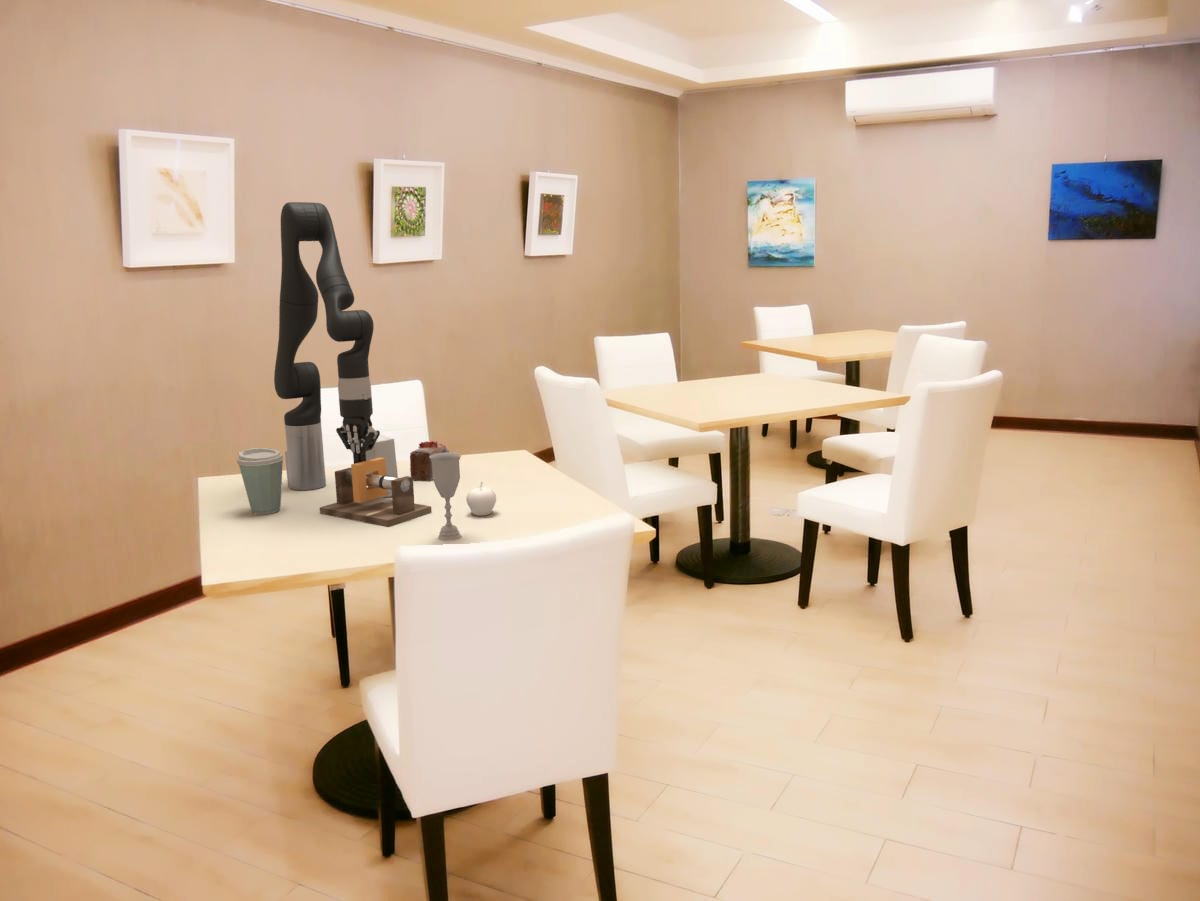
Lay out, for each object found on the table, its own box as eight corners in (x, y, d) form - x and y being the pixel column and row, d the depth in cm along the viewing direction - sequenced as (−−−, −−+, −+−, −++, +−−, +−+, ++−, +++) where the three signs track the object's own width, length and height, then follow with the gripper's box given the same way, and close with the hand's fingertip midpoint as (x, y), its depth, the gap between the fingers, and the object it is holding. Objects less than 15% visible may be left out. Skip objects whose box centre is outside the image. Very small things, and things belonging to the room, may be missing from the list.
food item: (425, 470, 276) (423, 436, 274) (452, 470, 275) (450, 436, 273) (408, 481, 263) (406, 445, 261) (436, 481, 261) (434, 446, 259)
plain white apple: (473, 519, 223) (471, 486, 222) (463, 512, 230) (461, 480, 228) (501, 515, 226) (500, 482, 225) (490, 508, 233) (489, 476, 231)
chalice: (435, 532, 213) (430, 453, 210) (466, 531, 214) (462, 452, 210) (432, 542, 206) (427, 460, 203) (464, 541, 207) (460, 459, 203)
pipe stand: (320, 513, 231) (317, 474, 229) (363, 500, 243) (361, 463, 241) (388, 526, 219) (386, 486, 217) (431, 512, 230) (429, 473, 228)
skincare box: (400, 495, 247) (396, 438, 244) (377, 499, 244) (373, 441, 241) (388, 489, 254) (384, 433, 251) (365, 492, 250) (361, 436, 247)
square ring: (353, 501, 228) (351, 464, 226) (381, 493, 235) (379, 457, 233) (359, 502, 226) (357, 465, 225) (387, 494, 234) (385, 458, 232)
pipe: (338, 483, 234) (337, 470, 233) (348, 480, 236) (347, 467, 236) (400, 493, 222) (400, 480, 222) (410, 490, 225) (410, 477, 224)
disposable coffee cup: (297, 507, 237) (292, 447, 234) (269, 519, 227) (263, 456, 224) (261, 504, 241) (255, 445, 237) (232, 516, 231) (226, 454, 228)
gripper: (323, 396, 228) (329, 468, 231) (362, 400, 221) (368, 473, 224) (348, 392, 234) (353, 462, 237) (386, 395, 227) (391, 467, 230)
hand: (360, 467), depth 231 cm, fingers closed
